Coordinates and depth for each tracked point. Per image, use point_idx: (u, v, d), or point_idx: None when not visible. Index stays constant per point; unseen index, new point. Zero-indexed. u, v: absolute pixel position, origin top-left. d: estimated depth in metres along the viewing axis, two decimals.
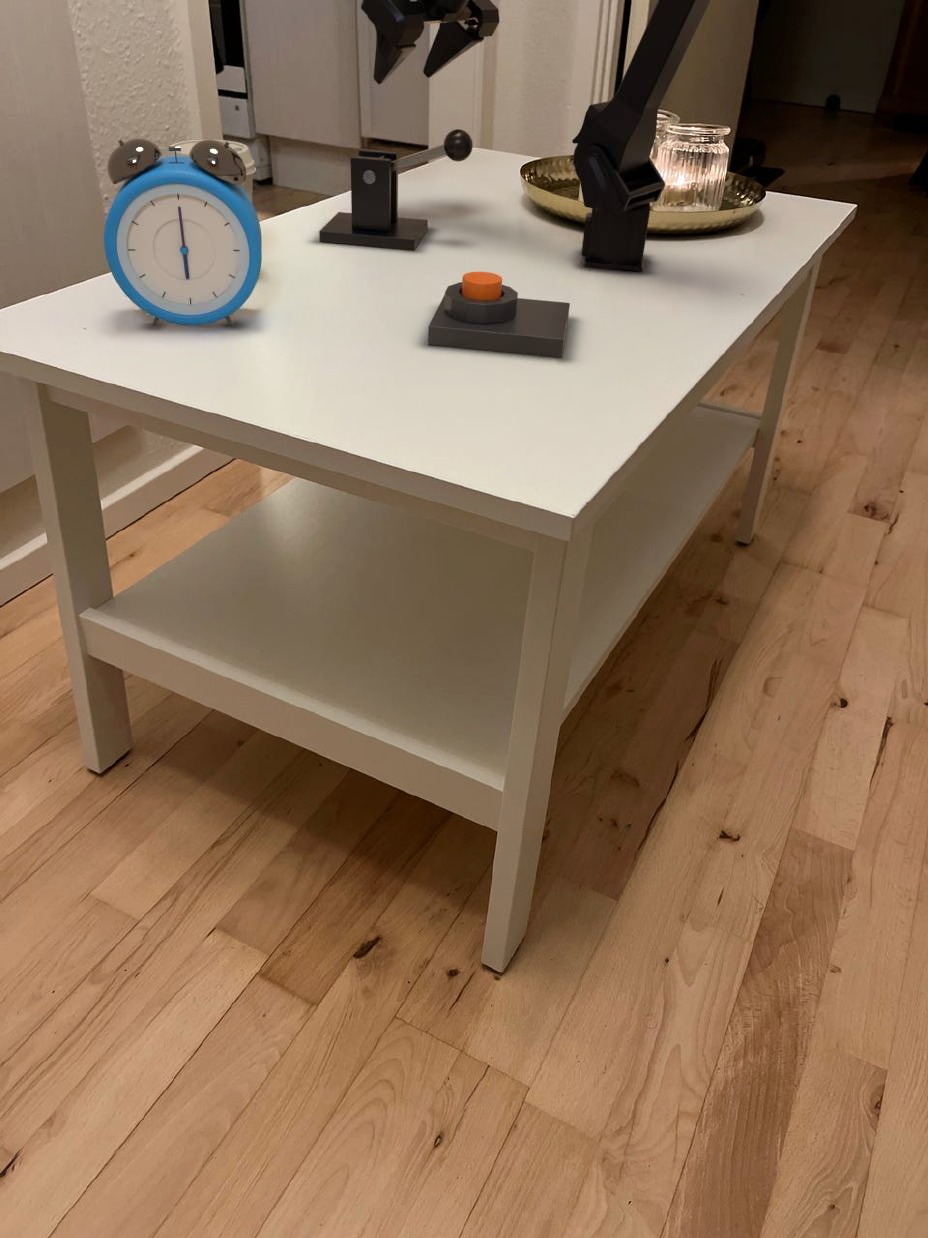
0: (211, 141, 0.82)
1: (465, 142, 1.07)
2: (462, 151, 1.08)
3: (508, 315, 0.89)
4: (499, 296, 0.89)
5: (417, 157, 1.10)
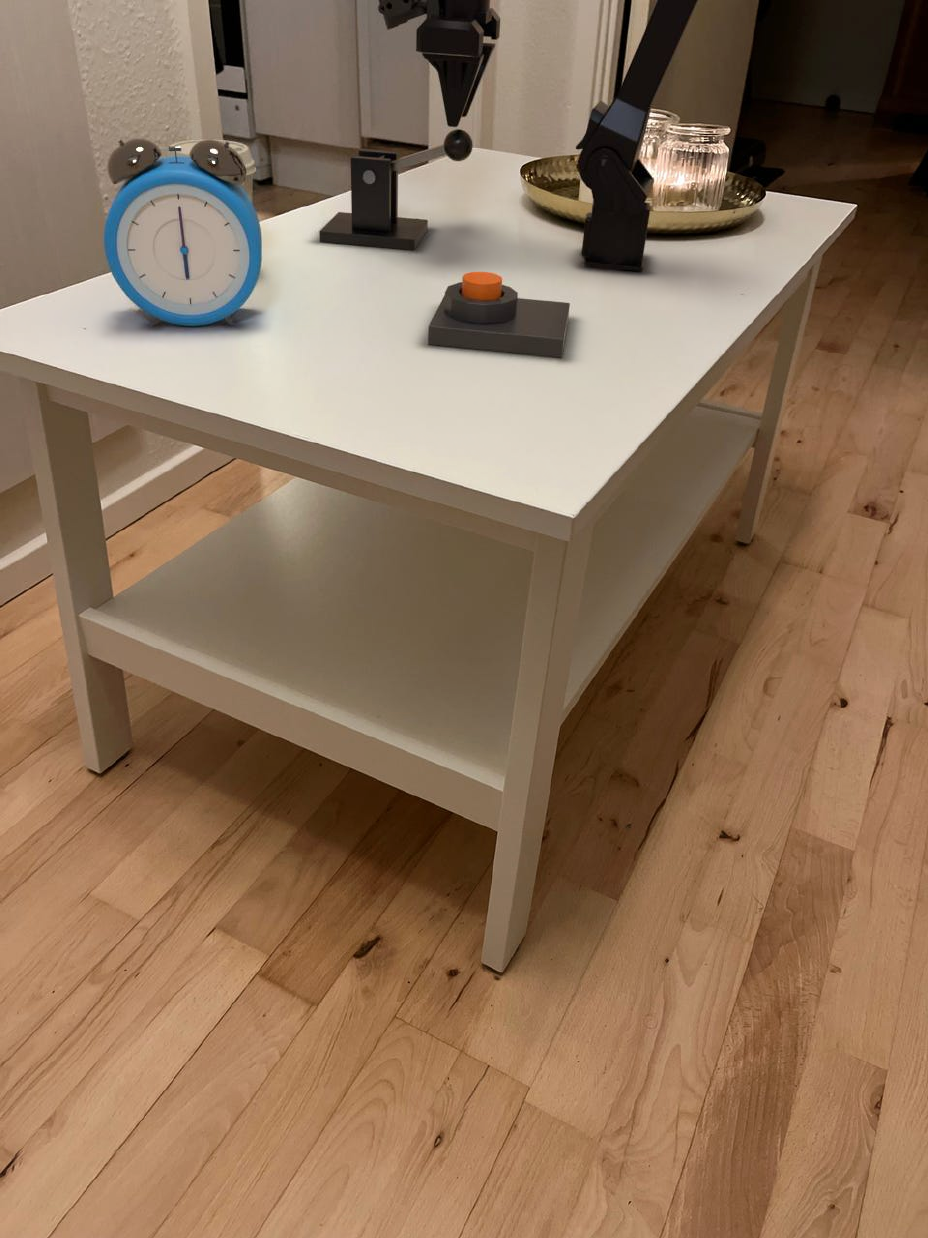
0: (211, 141, 0.82)
1: (465, 142, 1.07)
2: (462, 151, 1.08)
3: (508, 315, 0.89)
4: (499, 296, 0.89)
5: (417, 157, 1.10)
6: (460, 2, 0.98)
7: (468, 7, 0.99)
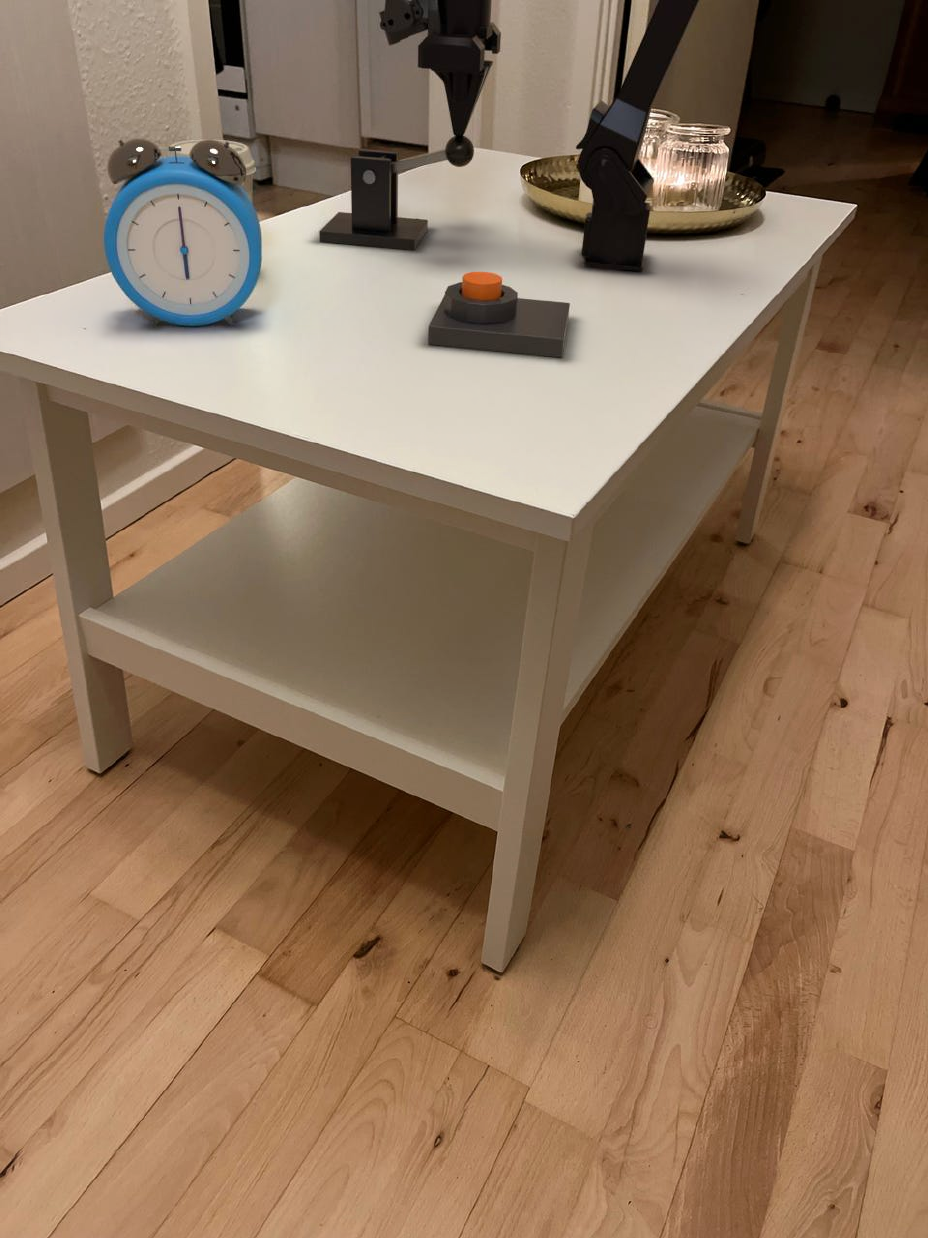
0: (211, 141, 0.82)
1: (467, 148, 1.08)
2: (464, 158, 1.08)
3: (508, 315, 0.89)
4: (499, 296, 0.89)
5: (418, 160, 1.10)
6: (461, 18, 0.99)
7: (469, 23, 1.00)
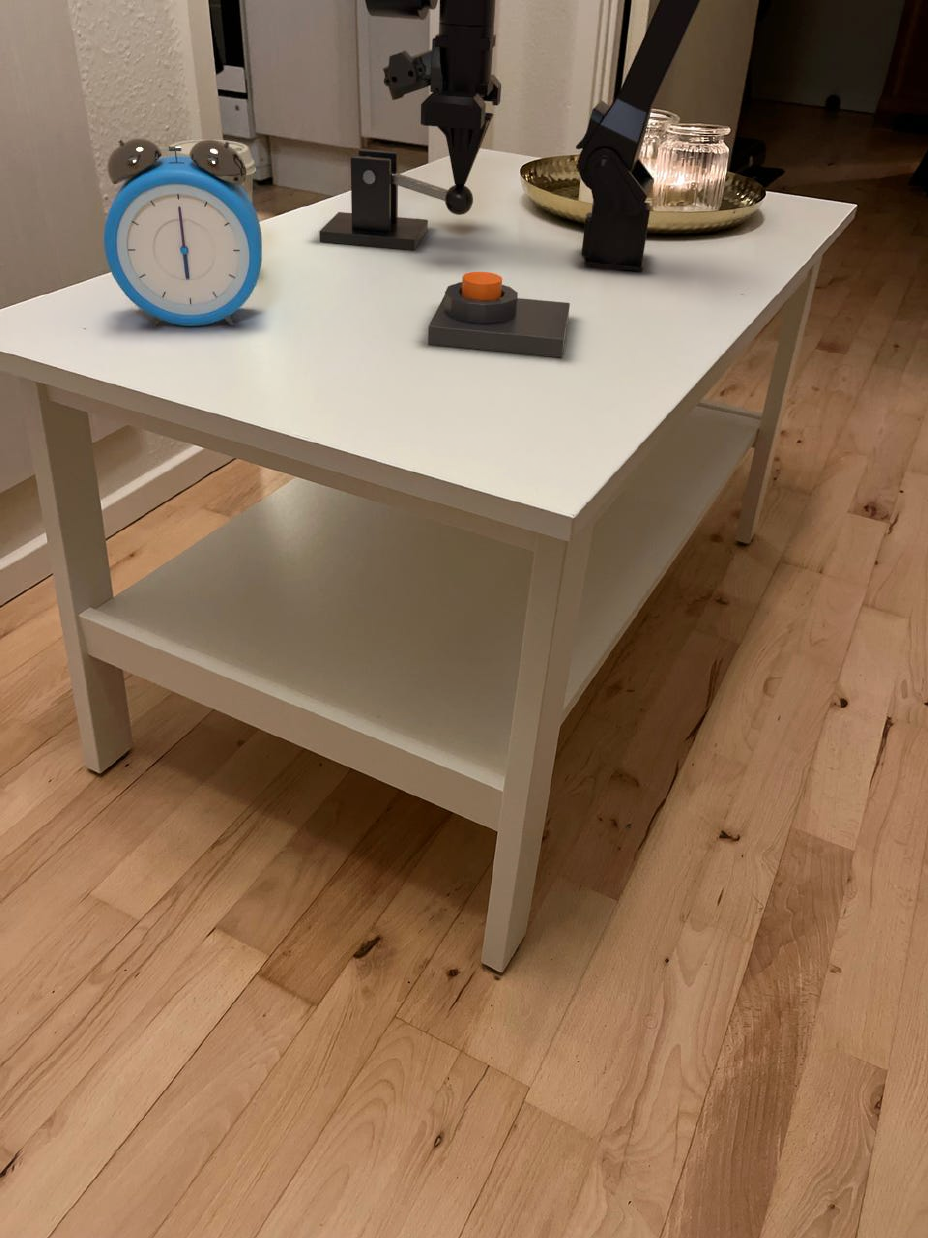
0: (211, 141, 0.82)
1: (467, 203, 1.11)
2: (460, 209, 1.11)
3: (508, 315, 0.89)
4: (499, 296, 0.89)
5: (419, 186, 1.11)
6: (462, 75, 1.02)
7: (470, 80, 1.02)
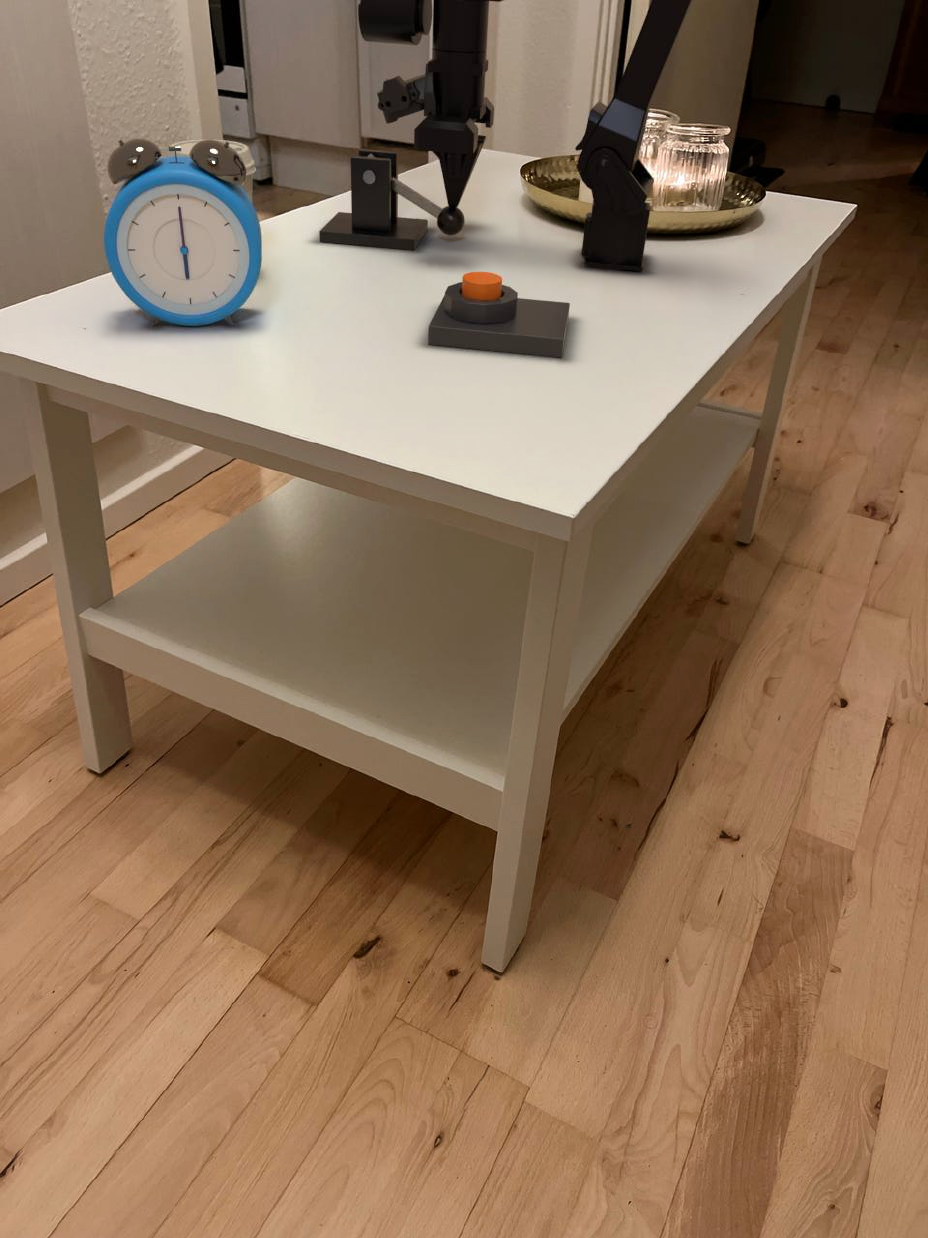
0: (211, 141, 0.82)
1: (458, 226, 1.13)
2: (450, 230, 1.13)
3: (508, 315, 0.89)
4: (499, 296, 0.89)
5: (415, 198, 1.12)
6: (455, 100, 1.04)
7: (463, 104, 1.04)
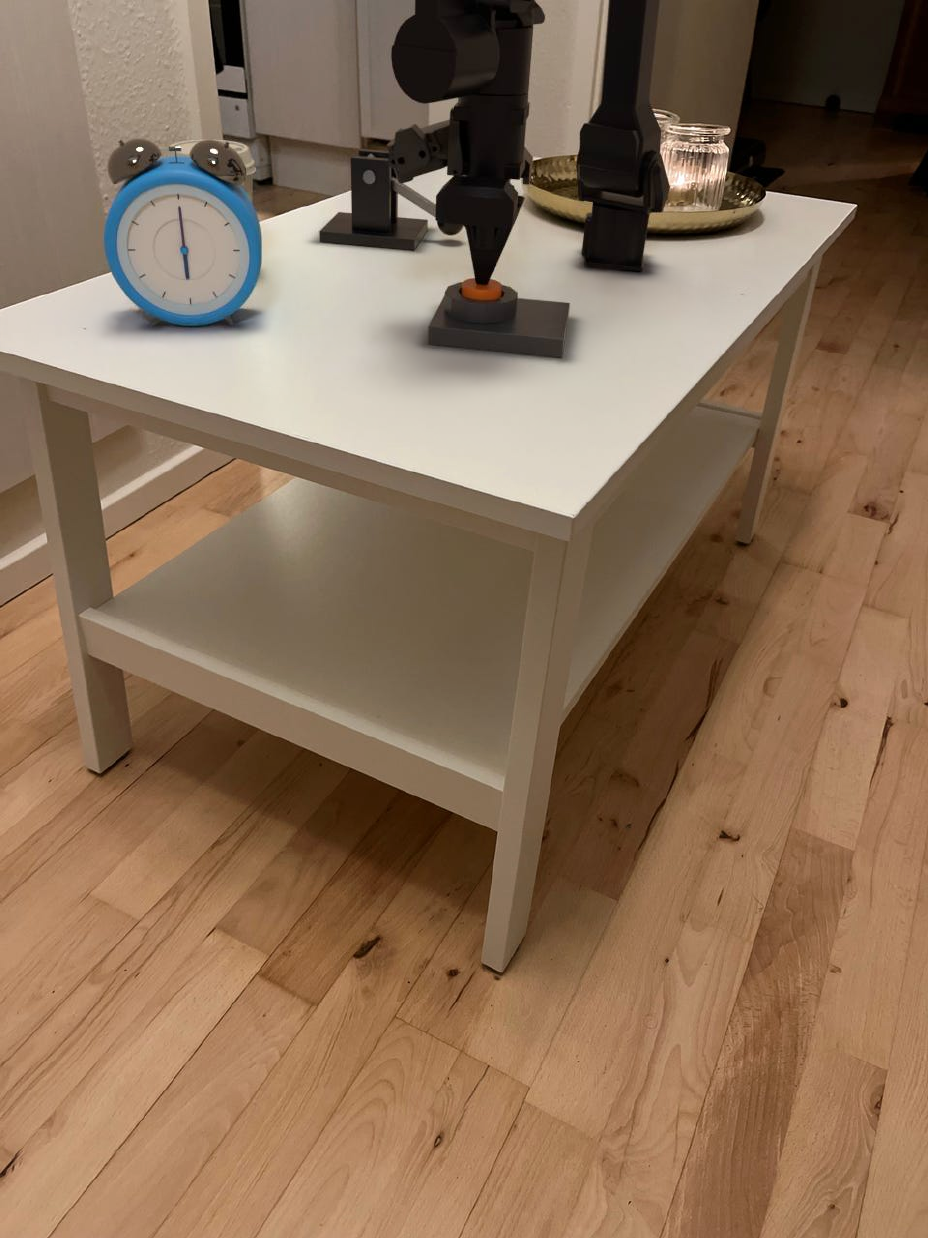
0: (211, 141, 0.82)
1: (458, 226, 1.13)
2: (450, 230, 1.13)
3: (508, 315, 0.89)
4: None
5: (415, 198, 1.12)
6: (488, 155, 0.80)
7: (498, 161, 0.81)
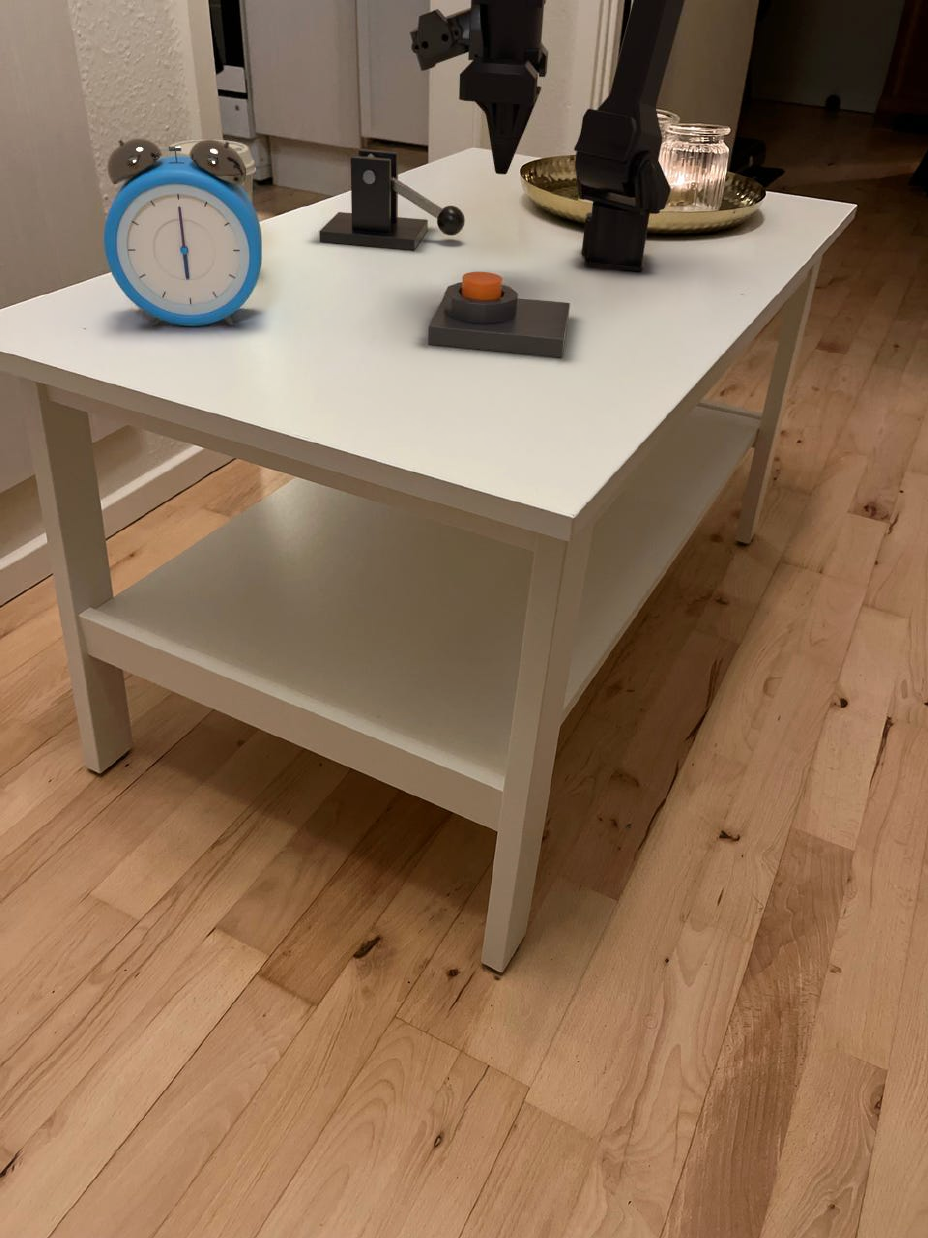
0: (211, 141, 0.82)
1: (458, 226, 1.13)
2: (450, 230, 1.13)
3: (508, 315, 0.89)
4: (499, 296, 0.89)
5: (415, 198, 1.12)
6: (508, 39, 0.84)
7: (517, 45, 0.84)
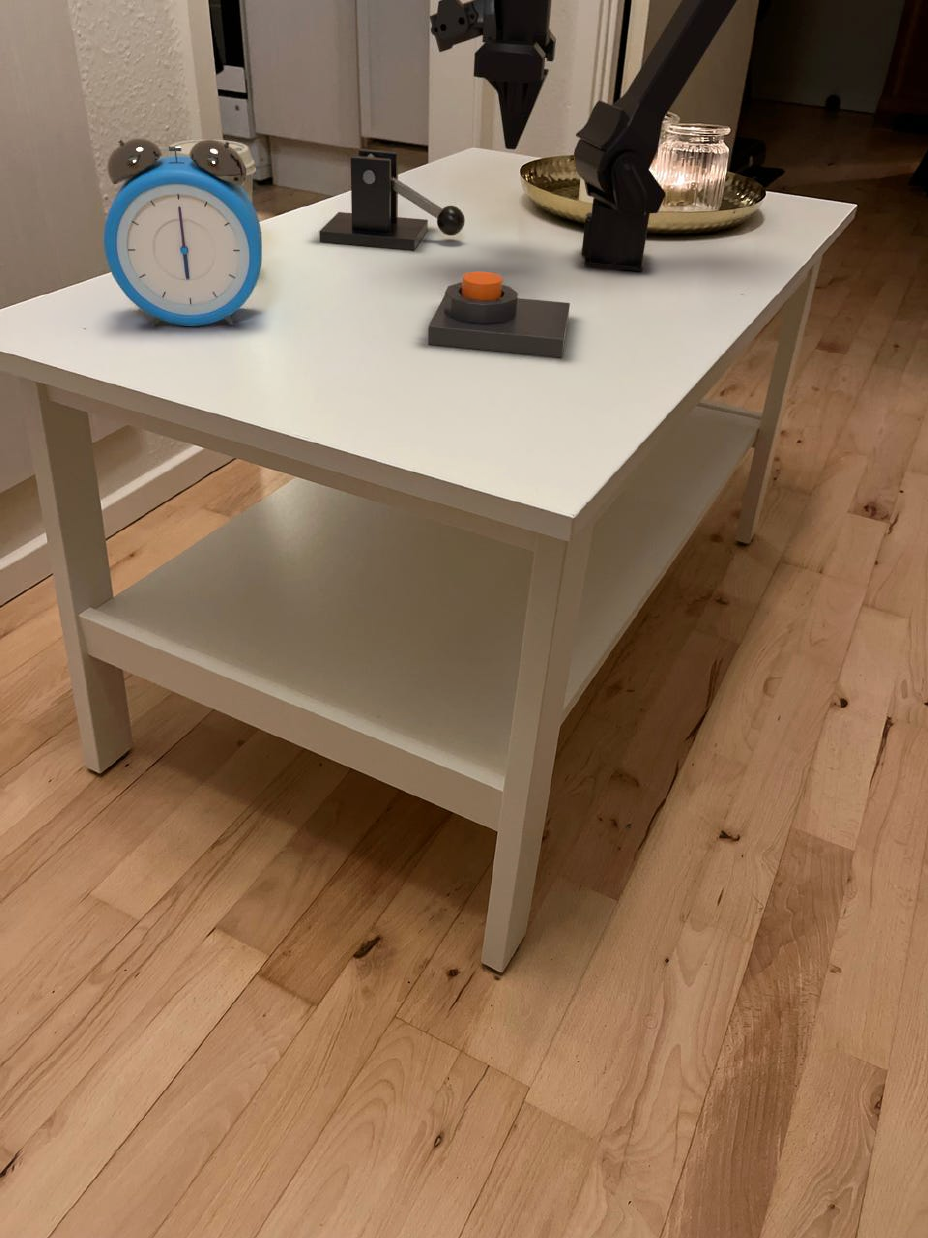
0: (211, 141, 0.82)
1: (458, 226, 1.13)
2: (450, 230, 1.13)
3: (508, 315, 0.89)
4: (499, 296, 0.89)
5: (415, 198, 1.12)
6: (519, 23, 0.92)
7: (527, 28, 0.92)
